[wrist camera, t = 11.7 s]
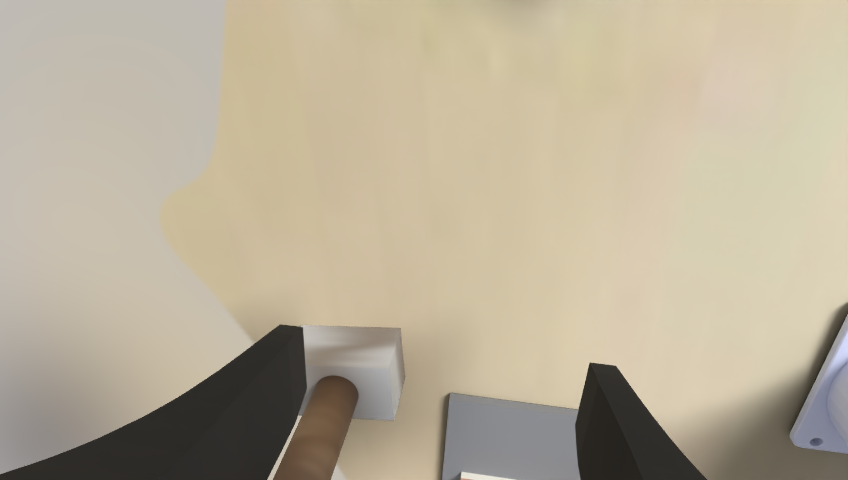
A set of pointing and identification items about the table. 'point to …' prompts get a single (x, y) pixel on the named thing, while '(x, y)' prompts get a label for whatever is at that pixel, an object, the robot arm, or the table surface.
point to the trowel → (342, 393)
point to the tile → (480, 477)
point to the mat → (509, 440)
